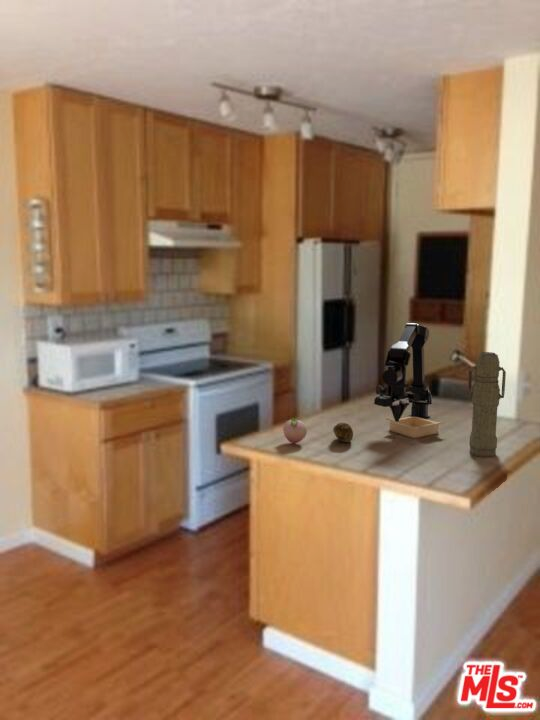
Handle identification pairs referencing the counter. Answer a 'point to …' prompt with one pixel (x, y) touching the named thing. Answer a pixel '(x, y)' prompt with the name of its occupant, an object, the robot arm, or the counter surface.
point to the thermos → (485, 404)
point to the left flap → (431, 424)
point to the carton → (414, 427)
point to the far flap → (398, 422)
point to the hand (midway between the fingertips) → (396, 421)
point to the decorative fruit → (294, 430)
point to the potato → (343, 432)
